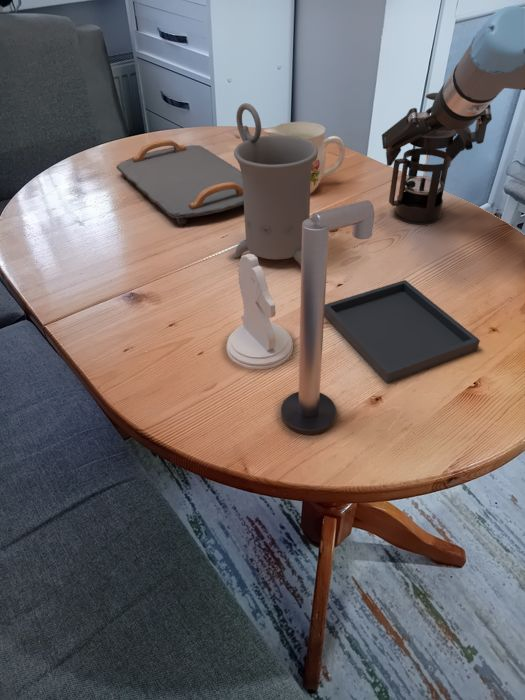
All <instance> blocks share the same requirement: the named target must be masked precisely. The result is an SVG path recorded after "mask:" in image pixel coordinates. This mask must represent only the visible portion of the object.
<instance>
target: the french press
mask: <svg viewBox="0 0 525 700" xmlns="http://www.w3.org/2000/svg"><path fill="white" fill-rule="evenodd" d="M437 94H438V92H430V93H428V94H426V95H425V98H426V99H427V100H432V101H434V100H435V97H436V96H437ZM429 129H430V127H429ZM457 135H458V134H457V132H456V131H455V130H452V131H445V130H443V131H438V132H436V133H434V134H432V135H430V136H422V137H420V138H418V139H416V140H414V141H412V142H410V143H409V144H410V145H412V146H414V147H415V148H411V149H408V150H406V151H404V153H403V155H402V158H396V159H395V160H394V162H393V168H392V176H391V183H390V189H389V197H388V203H389V204H390V205H391V206H392V207H395V208H394V210H393V215H394V216H395V218H396V219H397V220H399V221H401V222H404V223H407V224H411V225H419V226H420V225H421V226H422V225H423V226H425V225H431V224H434V223H436V222H439V221H440V219H441V217H442V209H443V203H444V199H443V195H444V190H445V185H446V180H447V176H448V171H449V168H450V167H451V163H452V161H453V160H452V157H451V155H450V154H448V153H447V152H446V151H444V150H442V149H446V148H447V147H449V146H450V145H451V144H452V142H453V140H454V139H455V137H456V136H457ZM421 156H426V157H425V162H424V163H420V161H421ZM429 156H431V157H432V156H433V157H438V158H441V159H443V163H437V164H428V161H429ZM410 157H411V159H408V158H410ZM451 160H452V161H451ZM400 165H402V169H401V174H400V175H401V176H400V183H399V190H398V195H397V197H396V191H397V183H398V179H399V170H400ZM408 169H409V171H408ZM418 172H423V174H422V175H418ZM426 173H431V176H426ZM407 175H408V176H407ZM395 198H396V200H395ZM416 206H417V207H416ZM422 207H423V208H422Z"/></svg>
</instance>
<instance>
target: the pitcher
mask: <svg viewBox="0 0 525 700" xmlns="http://www.w3.org/2000/svg"><path fill="white" fill-rule="evenodd" d="M262 131H263V133H265V134H267V135H268V136H269V135H288V136H296V137H300V138H304V139H307V140H309V141H311V142H313V143H314V144H315V145H316V146H317V148H318V154H317V156H316V158H315V159H314V161H313V165H312V170H311V180H310V194H312V193H313V192H315V190H316V189H317V188H318V186H319V185H320V183H321V180H322V179H324V178H327V177H329V176H331V175H333V174H334V173H336V172H337V171H338V170H339V169H340V167H342V165H343V163H344V159H345V153H346V148H345V144H344V141H343V140H342V139H341V138H340V137H339V136H337V135H331V136H328V137H326V138H325V135H326V128H325V126H323V125H322V124H319V123H316V122H311V121H290V122H284V123H280V124H278V125H275V126H270V127H269V126H268V127H265V128H263V130H262ZM324 138H325V139H324ZM332 143H335V144H337V146H338V158H337V160H336V161H335V163H333V165H332V166H330V167H329V168H327V169H325V168H326V159H327V157H326V156H327V155H326V148H327V146H328V145H330V144H332Z"/></svg>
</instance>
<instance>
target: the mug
mask: <svg viewBox="0 0 525 700" xmlns="http://www.w3.org/2000/svg"><path fill="white" fill-rule="evenodd" d="M245 110H247V112H249V113H250V115H251V116H252V118H253V120H254V125H255V126H254V127H255V129H254V130H255V131H254V134H253V135H252V134H251V132H250V130H249V127H248V126H247V125H244V124H243V113H244V111H245ZM235 119H236V120H235V121H236V125H237V130H238V133H239V136H240V138H241V140H242V142H241V143H239V144H238V145H236V147H235V148H234V151H233V156H234V158H235V160H236V161H237V163H238V165H239V170H240V171H241V174H242V183H243V199H244V204H243V213H244V214H243V215H244V230H245V231H244V233H245V239H244V240H242V241H240V242H239V243H238V245H237V247H236V250H235V253H233V254H232V255H231V256H232V258H233V259H238V258H241V256H242V255H243V253H245V252H247V251H249V252H250V254H254V255H255V257H259V258H263V259H267V260H285V259H291V258H293V259H294V260H295V261H296V262H297V263H298V264H299V266H300V267H301V257H302V223H303V221H304V220H306V219H309V218H311V217H310V213H311V212H310V210H311V193H310V180H311V170H312V165H313V161H314V159H315V158H316V156H317V154H318V148H317V146H316V145H315V144H314V143H313V142H311V141H309V140H307V139H304V138H300V137H296V136H288V135H269V134H268V135H262V136H261V134H262V122H261V118H260V115H259V113H258V111H257V110H256V108H255V107H254V106H253V104H250V103H247V102H246V103H242V104H240V106H239V107H237V111H236V118H235Z"/></svg>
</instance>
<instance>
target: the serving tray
mask: <svg viewBox="0 0 525 700" xmlns="http://www.w3.org/2000/svg"><path fill="white" fill-rule="evenodd" d="M162 147H169V148H163V149H158V148H162ZM154 149H157V150H154ZM152 150H153V151H152ZM115 167H116V169H117V170H118V171H119V172H120V173H121V174H122V175H123V176H124V177H125V178H126V179H127V180H128V181H129V182H130V183H132V184H133V185H135V186H136V188H137V189H138V190H139V191H140V192H141V193H143V194H144V195H145V196H147V198H148V199H149V201H150V202H151V203H154V204H155V205H157V207H159V208H160V209H161V210H162V211H163V212H164V213H165V214H166V215H168V217H170V218H171V219H176V223H177V224H178V225H179V226H181V227H183V226H186V225H187V223H188V218H195V217H200V216H201V217H202V216H207V215H211V214H217V213H222V212H226V211H228V210H231V209H235V208H238V207H241V206H244V199H243V183H242V174H241V169H238V168H237V167H236V166H234V165H233V164H231V163H229V162H228V161H226V160H224V159H223V158H221V157H220V156H218V155H216V154H215V153H213V152H212V151H210V150H208V149H207V148H205V147H204V146H202V145H195V144H191V145H185V144H182V145H179V144H178V143H177V142H175V141H174V140H171V139H162V140H157V141H153V142H150V143H148V144H145V145H144V146H142V148H141V149H140V150H139V152H138V153H137V154H136V155H135V156H132V157H131V158H129V159H126V160H124V161H121V162H120V163H118V164H117V165H116V166H115Z"/></svg>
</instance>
